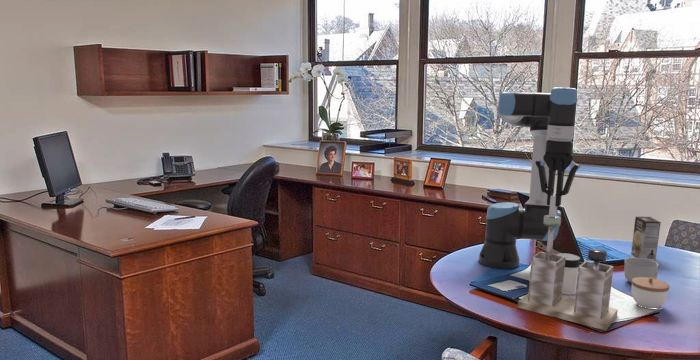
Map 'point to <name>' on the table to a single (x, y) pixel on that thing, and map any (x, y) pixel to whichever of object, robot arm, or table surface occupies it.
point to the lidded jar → (649, 292)
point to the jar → (570, 273)
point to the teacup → (640, 268)
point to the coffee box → (645, 238)
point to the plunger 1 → (551, 232)
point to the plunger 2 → (597, 257)
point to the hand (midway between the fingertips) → (552, 216)
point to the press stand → (583, 309)
